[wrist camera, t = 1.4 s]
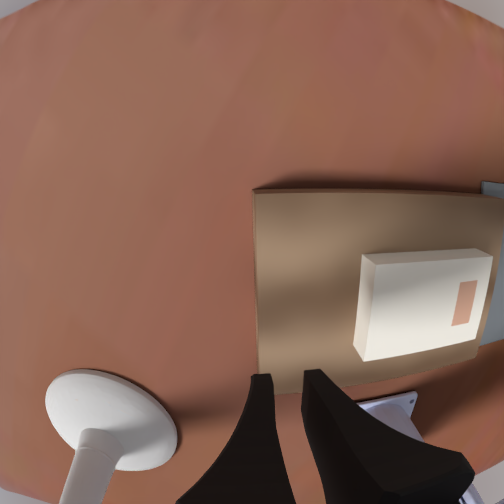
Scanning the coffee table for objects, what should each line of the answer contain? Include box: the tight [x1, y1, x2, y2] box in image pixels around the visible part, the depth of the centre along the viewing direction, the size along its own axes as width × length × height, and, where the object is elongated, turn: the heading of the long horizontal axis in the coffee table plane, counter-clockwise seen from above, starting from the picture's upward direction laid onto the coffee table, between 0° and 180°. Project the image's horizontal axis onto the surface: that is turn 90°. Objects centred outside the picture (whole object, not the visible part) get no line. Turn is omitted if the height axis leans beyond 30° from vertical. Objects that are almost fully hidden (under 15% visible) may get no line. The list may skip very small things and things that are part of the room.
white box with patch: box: [353, 248, 493, 362], centre depth 18 cm, size 9×6×2 cm, turn 92°
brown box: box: [252, 188, 504, 395], centre depth 20 cm, size 13×18×3 cm
